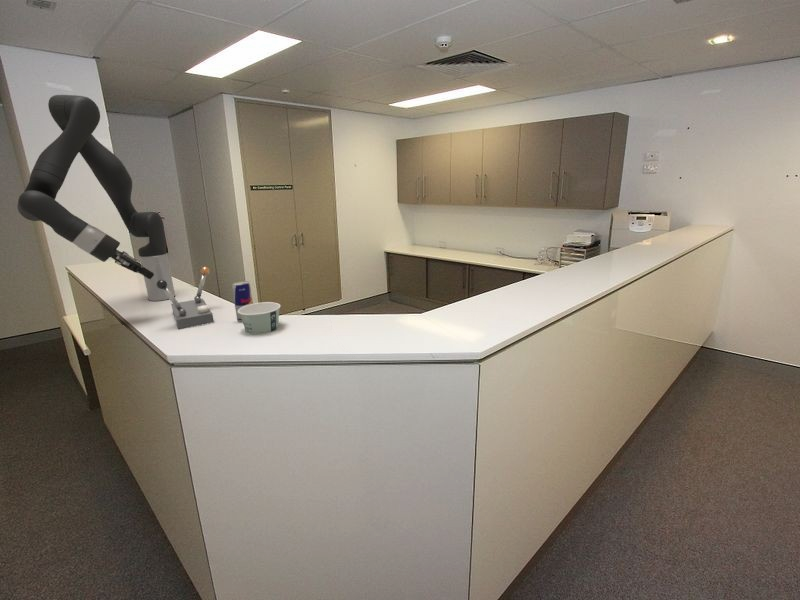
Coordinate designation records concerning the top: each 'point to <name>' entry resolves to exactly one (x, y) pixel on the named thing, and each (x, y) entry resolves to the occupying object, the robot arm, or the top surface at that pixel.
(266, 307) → the food container
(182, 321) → the control panel
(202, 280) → the orange knob lever
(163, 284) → the black knob lever
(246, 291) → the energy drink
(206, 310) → the push button
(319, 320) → the top surface
